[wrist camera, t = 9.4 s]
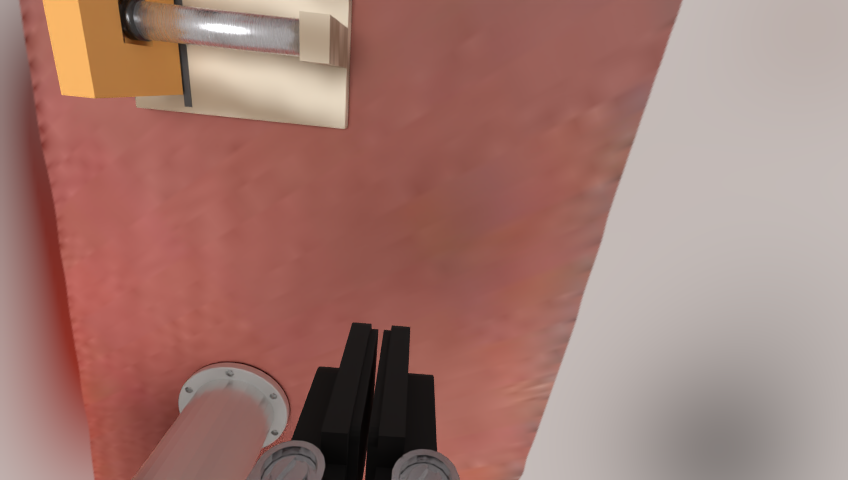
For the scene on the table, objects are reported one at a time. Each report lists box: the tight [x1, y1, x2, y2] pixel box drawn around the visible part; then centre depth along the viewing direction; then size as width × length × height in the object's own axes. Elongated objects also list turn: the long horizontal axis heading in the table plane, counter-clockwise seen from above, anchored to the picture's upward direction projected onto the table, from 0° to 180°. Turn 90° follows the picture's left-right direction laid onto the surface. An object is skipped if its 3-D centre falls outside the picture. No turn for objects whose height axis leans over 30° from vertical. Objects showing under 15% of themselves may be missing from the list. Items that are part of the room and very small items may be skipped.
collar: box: [43, 0, 183, 98], centre depth 28 cm, size 10×2×10 cm, turn 174°
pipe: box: [118, 0, 300, 57], centre depth 28 cm, size 3×17×3 cm, turn 84°
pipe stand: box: [123, 0, 352, 129], centre depth 31 cm, size 13×18×8 cm
